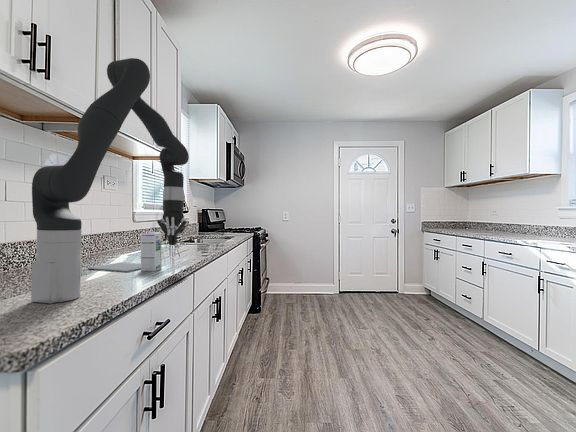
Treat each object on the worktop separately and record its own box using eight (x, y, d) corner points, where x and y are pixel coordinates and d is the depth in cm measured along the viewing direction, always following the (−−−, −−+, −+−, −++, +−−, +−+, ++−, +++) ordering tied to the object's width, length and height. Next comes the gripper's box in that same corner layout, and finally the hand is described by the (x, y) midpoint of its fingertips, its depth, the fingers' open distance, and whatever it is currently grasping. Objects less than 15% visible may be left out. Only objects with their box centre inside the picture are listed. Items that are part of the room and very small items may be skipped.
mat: (127, 272, 122) (127, 270, 122) (87, 269, 127) (87, 267, 127) (155, 266, 138) (155, 264, 138) (119, 263, 142) (119, 262, 142)
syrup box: (155, 271, 126) (156, 232, 126) (140, 270, 126) (140, 232, 126) (161, 268, 132) (162, 232, 132) (146, 268, 132) (147, 231, 132)
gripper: (152, 198, 124) (151, 245, 124) (183, 198, 121) (182, 246, 121) (164, 199, 132) (163, 243, 132) (194, 199, 128) (193, 245, 128)
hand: (172, 245), depth 126 cm, fingers closed
